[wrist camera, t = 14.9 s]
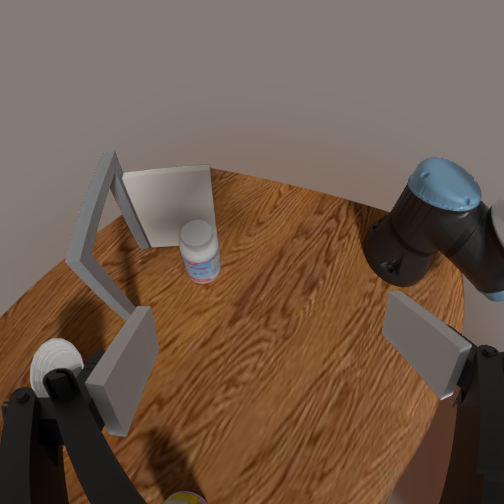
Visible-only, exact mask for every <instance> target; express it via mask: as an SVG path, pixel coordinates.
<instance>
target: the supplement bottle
mask: <svg viewBox="0 0 504 504" xmlns="http://www.w3.org/2000/svg"><path fill="white" fill-rule="evenodd" d="M163 504H207V502H206V501H205V500H204V499H203V498H202V497H201V496H199V495H197V494H195V493H193V492H189V491H179V492H176V493H173V494H172V495H170V496H169V497H168V498H167V499H166V500H165V501H164V503H163Z"/></svg>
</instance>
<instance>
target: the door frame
mask: <svg viewBox="0 0 504 504" xmlns="http://www.w3.org/2000/svg"><path fill="white" fill-rule="evenodd" d="M122 177H123V172H122V169H121V166H120V163H119V161H118V158H117V155H116V152H115V151H113V152H107V153H103V154H102V156H101V158H100V160H99V163H98V166H97V168H96V170H95V172H94V175H93V177H92V180H91V182H90V185H89V187H88V190H87V193H86V195H85V198H84V201H83V204H82V207H81V209H80V213H79V215H78V218H77V221H76V225H75V228H74V231H73V235H72V238H71V242H70V245H69V248H68V252H67V256H66V260H65V262H66V263H67V264H68V266H69V267H70V268H71V269H72V270H73V271H74V272H75V273H76V274H77V275H78V276H79V277H80V278H81V279H82V280H83V281H84V282H85V283H86V284H87V285H88V286H89V287H90V288H91V289H92V290H93V291H94V292H95V293H96V294H97V295H98V296H99V297H100V298H101V299H102V300H103V301H104V302H105V303H106V304H107V305H108V306H109V307H111V308H112V309H113V310H114V311H115V312H116V313H117V314H118V315H119V316H120V317H122V318H123V319H124V320H125V321H127V320H128V318H129V317H130V316H131V314H132V313H133V312H134V310H135V309H136V307H135V306H134V305H133V304H132V303H131V301H130V300H129V299H128V298H127V297H126V296H125V295H124V294H123V292H122V291H121V290H120V289H119V288H118V287H117V285H116V284H115V283H114V282H113V281H112V279H111V278H110V277H109V276H108V275H107V273H106V272H105V271H104V270H103V269H102V267H101V266H100V265H99V264H98V262H97V261H96V260H95V258H94V257H93V256H92V255H91V253H92V249H93V245H94V241H95V237H96V233H97V229H98V225H99V221H100V218H101V214H102V211H103V207H104V204H105V201H106V197H107V194H108V191H109V188H110V189H111V191H112V193H113V196H114V198H115V200H116V202H117V204H118V206H119V208H120V210H121V212H122V214H123V217H124V219H125V221H126V223H127V225H128V227H129V229H130V230H131V232H132V234H133V236H134V238H135V240H136V242H137V244H138V246H139V248H140V249H145V248H150V242H149V240H148V238H147V236H146V234H145V231H144V229H143V227H142V225H141V223H140V220H139V218H138V216H137V213H136V211H135V209H134V206H133V204H132V202H131V199H130V197H129V195H128V192H127V190H126V187H125V185H124V182H123V180H122Z"/></svg>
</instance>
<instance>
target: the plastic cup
mask: <svg viewBox="0 0 504 504" xmlns="http://www.w3.org/2000/svg"><path fill="white" fill-rule="evenodd" d="M85 364H87V361H86V360H85V359H84V358H82V356H81V355H80V353H79V352H78V351H77V349H76V348H75V347H74V345H73V344H72V343H70V342H68V341H66V340H64V339H51V340H49V341H47V342H45V343H43V344H42V345H41V346H40V348H39V349H38V350H37V352H36V353H35V355H34V358H33V361H32V364H31V370H30V382H31V386H32V389H33V390H34V392H35V393H36V395H37V397H49V395H48V393H47V391H46V389H45V387H44V385H43V383H42V381H43V377H44V376H45V374H47V373H48V372H49V371H51V370H54V369H57V368H67V369H69V370H71V371H72V372H73V374H74V376H75V378H76V377H77V376H78V374H79V373H80V371H81V370H82V369H83V367H84V366H85Z"/></svg>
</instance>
